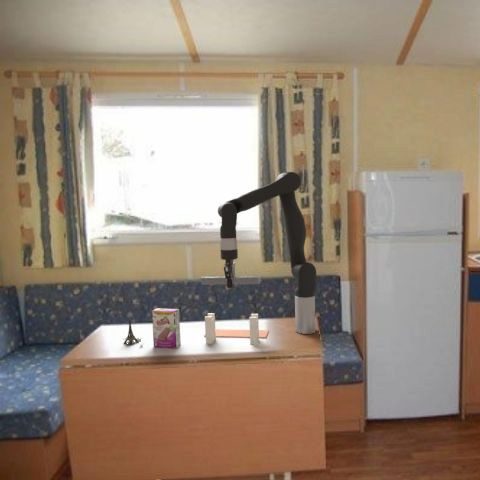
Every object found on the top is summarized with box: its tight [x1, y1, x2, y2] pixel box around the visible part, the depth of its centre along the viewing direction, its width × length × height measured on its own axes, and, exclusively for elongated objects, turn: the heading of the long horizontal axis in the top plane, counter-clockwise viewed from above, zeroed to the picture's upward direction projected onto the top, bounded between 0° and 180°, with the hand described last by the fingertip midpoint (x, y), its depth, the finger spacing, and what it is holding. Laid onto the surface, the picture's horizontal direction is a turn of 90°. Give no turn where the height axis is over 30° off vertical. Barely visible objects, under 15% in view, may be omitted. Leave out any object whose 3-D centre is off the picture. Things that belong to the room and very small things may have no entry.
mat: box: [203, 328, 269, 339], centre depth 193 cm, size 29×10×1 cm, turn 80°
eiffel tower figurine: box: [122, 315, 143, 348], centre depth 185 cm, size 15×10×13 cm
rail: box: [200, 275, 261, 286], centre depth 180 cm, size 26×3×3 cm, turn 80°
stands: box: [204, 312, 260, 346], centre depth 182 cm, size 23×6×12 cm, turn 80°
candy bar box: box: [151, 307, 182, 349], centre depth 180 cm, size 11×5×16 cm, turn 74°
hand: (230, 286), depth 181 cm, fingers closed on rail, 3 cm apart
